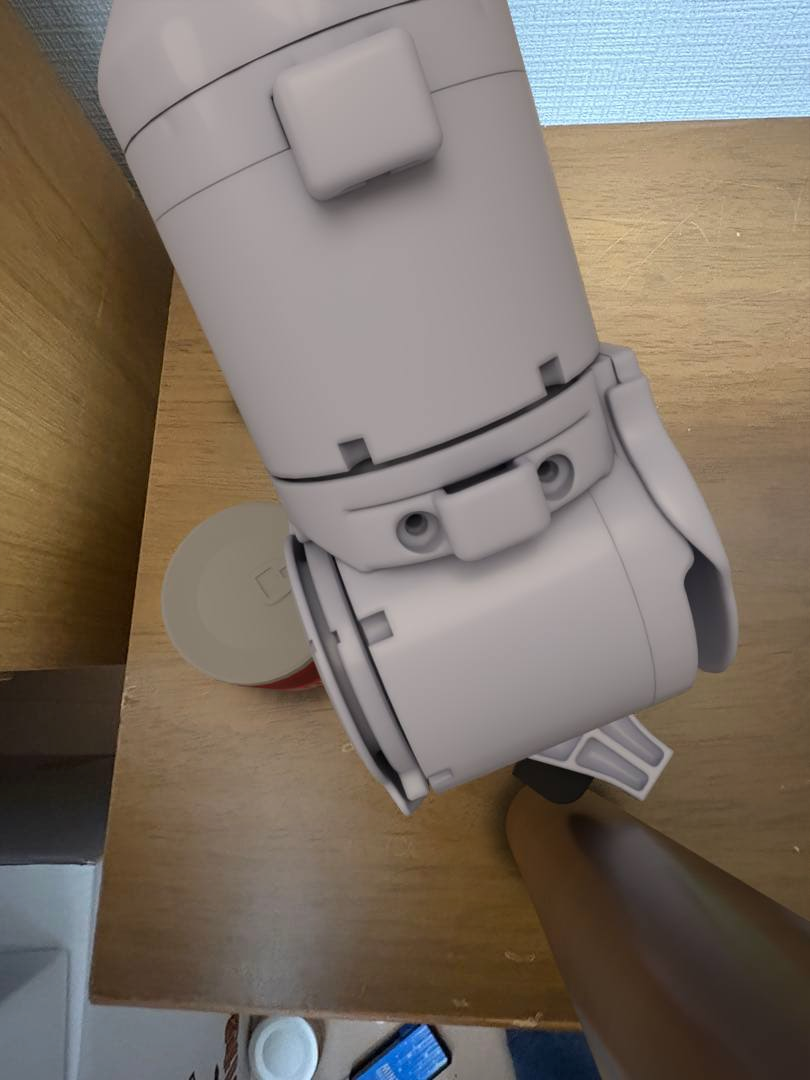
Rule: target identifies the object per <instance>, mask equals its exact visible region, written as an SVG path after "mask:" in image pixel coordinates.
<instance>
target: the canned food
mask: <svg viewBox="0 0 810 1080" xmlns="http://www.w3.org/2000/svg"><path fill="white" fill-rule="evenodd" d="M288 535H290V527H289V519H288V517H287V515H286V513H285V510H284V508H283V506H282V504H281V503H279V502H276V501H275V502H273V501H251V502H245V503H239V504H236V505H232V506H230V507H227V508H224V509H221V510H220V511H218V512H216V513H214V514H212V515H210V516H208V517H207V518H205V519H204V520H203V521H201V522H200V523H199V524H198V525H196V526H195V527H194V528H192V529H191V530H190V531H189V533H188V534H187V535H186V536H185V537H184V538H183V540H182V541H181V542H180V543H179V545H178V546H177V547H176V549H175V551H174V552H173V554H172V556H171V557H170V559H169V562H168V565H167V568H166V570H165V573H164V575H163V580H162V585H161V590H160V613H161V617H162V621H163V627H164V630H165V632H166V634H167V636H168V639H169V641H170V642H171V645H172V646H173V647H174V649H175V650H176V652H177V653H178V654H179V656H180V657H181V658H182V659H183V660H184V661H185V662H186V663H188V665H190V666H191V667H192V668H193V669H195V670H196V671H198V672H200V673H201V674H203V675H204V676H207V677H209V678H211V679H212V680H215V681H218V682H221V683H225V684H229V685H232V686H238V687H245V688H257V689H266V690H267V689H268V690H278V691H289V692H291V691H293V692H300V691H307V690H308V691H309V690H313V689H316V688H319V687H321V686H324V685H323V682H322V680H321V678H320V675H319V673H318V670H317V668H316V665H315V662H314V660H313V657H312V655H311V652H310V649H309V646H308V644H307V641H306V638H305V635H304V632H303V629H302V626H301V623H300V620H299V617H298V613H297V610H296V607H295V603H294V600H293V596H292V592H291V588H290V583H289V577H288V571H287V565H286V559H285V553H284V539H285V537H286V536H288Z"/></svg>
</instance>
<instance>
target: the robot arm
mask: <svg viewBox="0 0 810 1080" xmlns="http://www.w3.org/2000/svg"><path fill="white" fill-rule="evenodd" d="M109 12H110V13H109V17H108V20H107V23H106V28H105V33H104V37H103V42H102V46H101V50H100V55H99V60H98V70H97V95H98V100H99V104H100V106H101V108H102V110H103V112H104V115H105V116H106V118H107V121H108V123H109V125H110V127H111V129H112V132H113V133H114V136H115V138H116V140H117V142H118V143H119V146H120V148H121V150H122V152H123V155H124V157H125V161H126V164H127V166H128V168H129V171H130V172H131V176H132V177H133V179H134V181H135V183H136V184H135V185H136V186H137V188H138V190H139V192H140V195H141V197H142V199H143V201H144V204H145V206H146V208H147V211H148V212H149V214H150V216H151V217H150V218H151V219H152V221H153V223H154V225H155V229H156V230H157V233H158V235H159V237H160V239H161V242H162V243H163V246H164V248H165V251H166V253H167V254H168V257H169V259H170V261H171V264H172V266H173V268H174V270H175V272H176V275H177V277H178V279H179V281H180V283H181V286H182V288H183V290H184V293H185V295H186V296H187V299H188V301H189V304H190V306H191V307H192V309H193V313H194V314H195V316H196V319H197V322H198V323H199V325H200V328H201V330H202V332H203V334H204V336H205V339H206V341H207V343H208V345H209V347H210V349H211V352H212V354H213V356H214V358H215V360H216V363H217V365H218V367H219V369H220V371H221V374H222V376H223V378H224V380H225V383H226V385H227V387H228V389H229V392H230V394H231V396H232V398H233V400H234V402H235V405H236V407H237V409H238V411H239V414H240V415H241V418H242V420H243V423H244V425H245V427H246V429H247V431H248V434H249V437H250V438H251V441H252V442H253V444H254V447H255V449H256V451H257V454H258V455H259V458H260V460H261V463H262V465H263V467H264V469H265V470H266V472H267V473H268V477H269V479H270V482H271V484H272V486H273V488H274V490H275V492H276V495H277V498H278V499H279V501H280V504H282V506H283V508H284V510H285V513H286V515H287V517H288V519H289V527H290V535H288V536H286V537H285V539H284V553H285V559H286V565H287V571H288V577H289V583H290V588H291V592H292V596H293V600H294V603H295V607H296V610H297V613H298V617H299V620H300V623H301V626H302V629H303V632H304V635H305V638H306V641H307V644H308V646H309V649H310V652H311V655H312V657H313V660H314V662H315V665H316V668H317V670H318V673H319V675H320V678H321V680H322V682H323V685H322V686H323V687H324V690H325V692H326V694H327V697H328V699H329V701H330V703H331V705H332V707H333V710H334V713H335V715H336V716H337V718H338V720H339V722H340V724H341V727H342V728H343V730H344V733H345V734H346V736H347V738H348V740H349V742H350V743H351V745H352V747H353V748H354V749H355V751H356V753H357V755H358V756H359V758H360V759H361V761H362V763H363V764H364V765H365V767H366V769H367V770H368V771H369V773H370V774H371V775H372V777H373V778H374V780H376V781H377V782H378V783H379V784H381V785H382V786H383V787H384V789H385V790H386V791H387V792H388V795H390V797H391V798H392V800H393V801H394V803H395V804H396V806H397V807H398V808H399V810H400V811H401V813H402V814H403V815H405V817H406V816H407V817H408V816H412V815H413V814H414V813H415V812H416V811H417V810H418V808H419V807H420V806H421V805H422V803H423V802H424V800H425V798H426V796H427V795H429V794H430V791H431V789H432V791H433V792H434V793H435V795H437V796H439V795H441V794H444V793H446V792H449V791H450V790H453V789H456V788H458V787H460V786H462V785H463V786H464V785H465V784H467V783H469V782H473V781H475V780H477V779H480V778H482V777H484V776H487V775H490V774H491V773H494V772H497V771H498V770H501V769H505V768H507V767H508V766H511V765H513V764H514V767H513V769H512V771H511V775H512V776H513V777H515V778H516V779H518V780H519V781H520V782H521V783H523V784H524V785H527V786H529V787H530V788H531V789H533V790H534V791H536V792H537V793H538V794H540V795H541V796H543V797H544V798H545V799H547V800H549V801H551V802H552V803H556V804H569V803H572V802H575V801H576V800H578V799H579V798H581V796H582V795H583V794H584V793H585V792H586V790H587V789H589V787H590V786H591V784H592V783H593V781H594V779H595V778H596V779H599V780H602V781H605V782H607V783H608V784H611V785H613V786H614V787H616V788H618V789H619V790H620V791H622V792H623V793H624V794H626V795H627V796H629V797H632V798H633V799H636V800H637V801H640V802H644V801H645V800H646V799H647V797H648V795H649V793H650V792H651V790H652V789H653V787H654V785H655V784H656V782H657V780H659V778H660V776H661V774H662V773H663V771H664V770H665V768H666V766H667V765H668V763H669V762H670V760H671V759H672V757H673V756H674V753H675V752H674V750H673V749H672V748H670V747H669V746H668V745H667V744H665V743H664V742H663V741H662V740H660V739H659V738H657V737H656V736H655V735H654V734H653V733H652V732H650V731H649V729H647V728H646V727H645V726H644V725H643V723H642V722H641V721H640V720H639V719H638V718H637V716H636V715H635V714H637V713H639V712H641V711H643V710H645V709H649V708H652V707H654V706H656V705H658V704H661V703H664V702H666V701H668V700H671V699H673V698H676V697H679V696H681V695H684V694H685V693H687V692H690V691H691V689H692V688H693V687H694V684H695V683H696V680H697V675H698V670H700V671H703V672H706V673H708V674H720V673H723V672H725V671H727V670H728V669H729V668H731V666H732V665H733V663H734V661H735V658H736V655H737V653H738V648H739V637H740V634H739V633H740V629H739V628H740V627H739V614H738V609H737V608H738V607H737V606H738V605H737V601H736V596H735V591H734V587H733V579H732V570H731V566H730V561H729V558H728V555H727V552H726V549H725V546H724V543H723V541H722V538H721V536H720V533H719V529H718V528H717V525H716V523H715V520H714V518H713V516H712V514H711V511H710V509H709V506H708V504H707V502H706V499H705V498H704V496H703V494H702V491H701V490H700V487H699V486H698V484H697V481H696V480H695V478H694V476H693V474H692V473H691V470H690V469H689V467H688V465H687V463H686V461H685V459H684V458H683V456H682V455H681V453H680V452H679V450H678V448H677V447H676V445H675V443H674V441H673V440H672V438H671V436H670V435H669V433H668V430H667V429H666V427H665V425H664V423H663V420H662V418H661V416H660V414H659V410H658V409H657V406H656V403H655V400H654V397H653V392H652V390H651V385H650V381H649V377H648V376H647V375H646V374H644V373H643V372H642V370H641V368H640V365H639V361H638V358H637V355H636V353H635V351H634V349H632V348H631V347H628V346H623V345H618V344H614V343H609V342H605V341H600V338H599V335H598V331H597V327H596V325H595V321H594V317H593V314H592V309H591V306H590V302H589V299H588V294H587V291H586V287H585V284H584V280H583V276H582V272H581V269H580V264H579V261H578V257H577V253H576V250H575V246H574V242H573V239H572V235H571V232H570V228H569V224H568V221H567V217H566V213H565V210H564V206H563V203H562V198H561V195H560V191H559V188H558V183H557V180H556V175H555V173H554V169H553V166H552V163H551V162H552V161H551V158H550V153H549V151H548V146H547V143H546V139H545V136H544V132H543V129H542V128H543V127H542V125H541V124H542V123H541V122H540V121H541V120H540V117H539V114H538V110H537V105H536V103H535V99H534V95H533V91H532V87H531V84H530V80H529V76H528V74H527V70H526V66H525V63H524V62H525V61H524V58H523V53H522V51H521V46H520V44H519V40H518V36H517V33H516V28H515V25H514V22H513V18H512V15H511V10H510V6H509V2H508V0H112V4H111V8H110V11H109Z"/></svg>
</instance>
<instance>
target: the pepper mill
mask: <svg viewBox="0 0 810 1080" xmlns="http://www.w3.org/2000/svg"><path fill="white" fill-rule="evenodd" d="M505 832H506V838H507V842H508V844H509V847H510V850H511V852H512V855H513V857H514V859H515V862H516V865H517V867H518V870H519V872H520V875H521V878H522V880H523V883H524V885H525V888H526V890H527V893H528V895H529V898H530V901H531V903H532V905H533V908H534V910H535V913H536V916H537V918H538V921H539V924H540V926H541V928H542V930H543V933H544V935H545V939H546V941H547V944H548V946H549V949H550V951H551V954H552V956H553V958H554V961H555V964H556V966H557V969H558V971H559V974H560V976H561V979H562V982H563V984H564V987H565V989H566V992H567V994H568V997H569V999H570V1002H571V1005H572V1007H573V1009H574V1012H575V1014H576V1017H577V1020H578V1022H579V1025H580V1028H581V1031H582V1033H583V1035H584V1037H585V1040H586V1043H587V1045H588V1047H589V1051H590V1052H591V1053H590V1054H591V1055H592V1058H593V1060H594V1063H595V1065H596V1068H597V1070H598V1073H599V1075H600V1078H601V1080H810V921H809V920H808V919H806V918H804V917H803V916H801V915H800V914H797V913H796V912H794V911H793V910H791V909H789V908H788V907H786V906H784V905H783V904H782V903H779V901H776V900H775V899H773V898H771V897H769V896H768V895H766V894H764V893H763V892H761V891H759V890H757V889H756V888H754V887H753V886H751V885H749V884H748V883H746V882H745V881H742V880H741V879H739V878H737V877H736V876H734V875H733V874H731V873H729V872H728V871H726V870H724V869H723V868H721V867H719V866H717V865H716V864H714V863H712V862H711V861H709V860H707V859H706V858H704V857H703V856H701V855H700V854H697V853H696V852H694V851H693V850H691V849H689V848H688V847H686V846H684V845H682V844H681V843H679V842H677V841H676V840H674V839H672V838H671V837H669V836H668V835H665V834H664V833H662V832H661V831H659V830H657V829H656V828H654V827H653V826H651V825H649V824H647V823H646V822H644V821H642V820H641V819H639V818H637V817H636V816H634V815H632V814H631V813H630V812H628V811H626V810H624V809H623V808H621V807H619V806H618V805H615V804H614V803H612V802H611V801H610V800H607V799H606V798H604V797H603V796H600V794H597V792H596V793H595V792H594V791H592V790H591V789H589V788H588V789H587V790H586V792H585V793H584V794H583V795H582V796H581V798H579V799H578V800H576V801H575V802H572V803H569V804H556V803H552V802H551V801H549V800H547V799H545V798H544V797H543V796H541V795H540V794H538V793H537V792H536V791H534V790H533V789H531V788H530V787H529V786H527V785H526V784H524V786H522V788H521V789H519V790H518V792H517V793H516V794H515V795H514V797H513V798H512V800H511V802H510V804H509V807H508V810H507V814H506V819H505Z"/></svg>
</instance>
